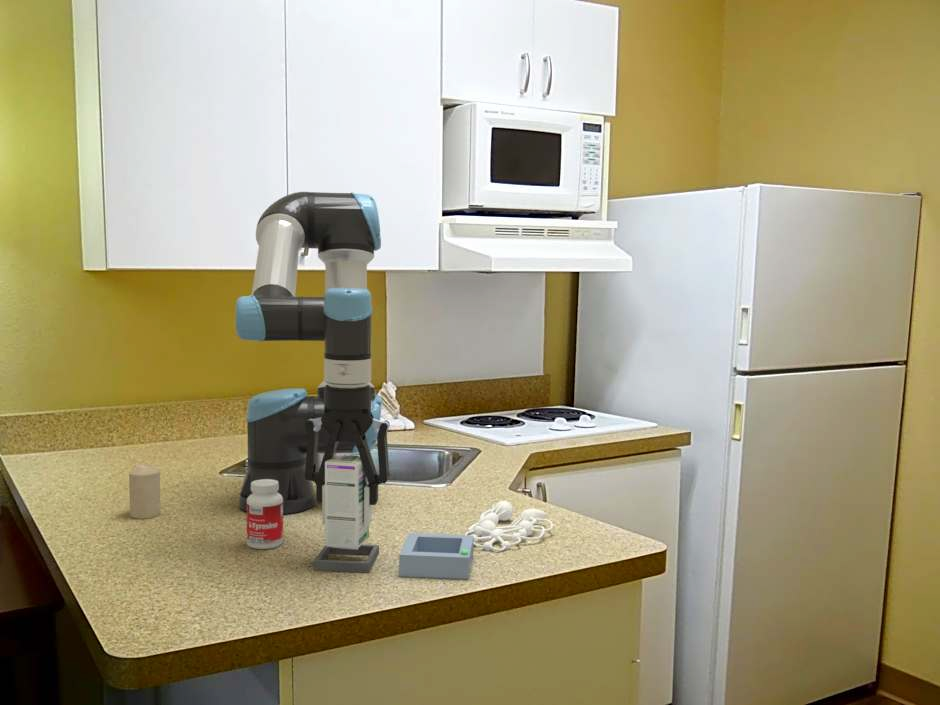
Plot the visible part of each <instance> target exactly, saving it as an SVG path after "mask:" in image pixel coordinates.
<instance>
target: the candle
mask: <svg viewBox="0 0 940 705" xmlns="http://www.w3.org/2000/svg"><path fill="white" fill-rule="evenodd" d="M160 473H161V470H160V469H159V468H157V467H156V466H155V465H153V464H148V463H142V462H139V463H137V464H135V465H134V466H133V468H132V469H131V470H130V471H128V483H129V485H128V488H129V490H128V491H129V515H130V516H129V517H130V518H132V519H135V520H136V519H139V520H143V519H151V518H155V517H158V516H160V515H161V478H160V477H161V474H160Z"/></svg>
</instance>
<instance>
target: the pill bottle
mask: <svg viewBox="0 0 940 705" xmlns="http://www.w3.org/2000/svg"><path fill="white" fill-rule="evenodd" d="M278 490H279V483H278V481H276V480H272V479H262V480H255V481H253V482H251V491H252V492H253V493H252V494H251V495H249V497H248V498H247V512H246V545H247V546H248V547H249V548H252V549H256V550H269V549H270V550H271V549H276V548H277V547H279V546H281V545H282V544H283V542H284V514H283V497H282V496H281V494H279V493H277V491H278Z"/></svg>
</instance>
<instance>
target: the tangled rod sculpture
mask: <svg viewBox="0 0 940 705" xmlns="http://www.w3.org/2000/svg"><path fill="white" fill-rule="evenodd" d="M513 514H514V508H513V505H512V504H511V502H509V501H507V500H500V501H498V502H497V503H496V504H492V505H491V508H490V509H488V510H486V511H483V512H482V513H481V514H480V516H479V520H478V521H477V522H476V523H474V524H471V526H469V527H468V528H467V529H466V532H465V534H464V535H474V541H473V546H475V547H478V548H482V549H483V550H484V551H487V552H490V551H492V550H493V551H495V552H503V551H508V550H510V549H511V548H512V546H516V545H519V544H520V543H521V542H522V540H528V541H538V540H541V539H542V538H543V536H544V534H545V532H549V531H552V530H553V528H554V523H553V522H552V521H551V520H550V519H549V518H546V516H547V514H546V512H545V511H543V510H541V509H538V508H528V509H524V510H523V511H521V513H520V514H519V516H518V517H516V518H515V519H514V520H513V521H512V522H511V524H510V525H506V526H505V525H504V526H497V525H499V524H498V523H499V521H503V522H504V521H509V520H510V519H511V518H512V516H513ZM539 522H547V523H549V524H550V527H549V528H545V527H544V526H543V525H540V524H539V525H537V523H539ZM534 532H536V533H540V535H539V536H535V537H534V536H533V537H530V536H531V535H532V534H533V533H534ZM508 533H509V534H508ZM510 533H512V534H510ZM503 538H507V539H511V540H512V542H509V541H508V540H504V539H503ZM487 540H489V541H487ZM478 541H479V542H480V541H485V542H484V543H483V544H479V543H478ZM498 542H499V543H501V546H500V547H501V548H496V547H493V544H494V543H498Z"/></svg>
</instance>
